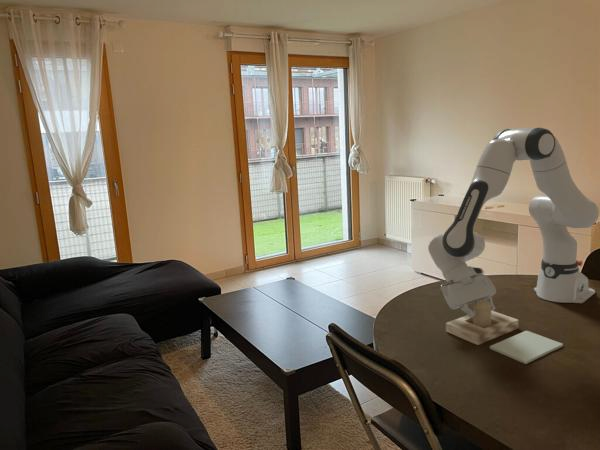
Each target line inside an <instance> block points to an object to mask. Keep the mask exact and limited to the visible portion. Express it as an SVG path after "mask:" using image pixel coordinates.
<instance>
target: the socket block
mask: <svg viewBox="0 0 600 450" xmlns="http://www.w3.org/2000/svg"><path fill="white" fill-rule="evenodd" d="M519 321H520V320H519V319H517V318H514V317H512V316H508V315H506V314H503V313H500V312H497V311H495V310H492V311H491V326H489V327H487V328H481V327H479V326H476V325H474V324H473V318H470V317H469V315H468V314H467V315H464V316H461V317H458V318H456V319H453V320H450V321H447V322H445V332H447V333H449V334H451V335H454V336H456V337H458V338H460V339H463V340H465V341H467V342H470V344H471V343H472V344H473V345H474V344H475V345H477V346H479V345H482V344H484V343H486V342H488V341H491V340H493V339H496V338H498V337H500V336H501V337H502V336H503V335H505V334H508V333H510V332H513V331H516V330H517V329H519Z"/></svg>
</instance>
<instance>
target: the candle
mask: <svg viewBox="0 0 600 450" xmlns="http://www.w3.org/2000/svg"><path fill="white" fill-rule="evenodd" d="M473 310H474V312H475V313H476V316H475V317H473V324H474V325H476V326H479V327H481V328H487V327H489V326H491V305H490V304H489V303H487V302H486V301H485V300H484V299H483V300H479V301H477V302H474V303H473ZM473 310H472V311H473Z"/></svg>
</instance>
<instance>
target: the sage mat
mask: <svg viewBox="0 0 600 450" xmlns="http://www.w3.org/2000/svg"><path fill="white" fill-rule="evenodd" d="M563 346H564V343H562V342H559V341H557V340H554V339H550V338H549V337H546V336H543V335H540V334H538V333H534V332H532V331H529V330H524V331H522V332H520V333H517V334H515V335H513V336H510V337H508V338H506V339H503V340H501V341H498V342H496V343H494V344H492V345H490V346H489V350H492V351H494V352H497V353H499V354H501V355H504V356H505V357H506V356H507V357H508V358H511V359H513V360H515V361H517V362H520V363H522V364H525V365H526V364H529V363H531V362H533V361H536V360H537V359H539V358H541V357H543V356H546V355H548V354H549V353H551V352H554V351H557V350H558V349H560V348H562V347H563Z"/></svg>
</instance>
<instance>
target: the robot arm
mask: <svg viewBox="0 0 600 450" xmlns="http://www.w3.org/2000/svg"><path fill="white" fill-rule="evenodd" d="M486 144H487V145H485V147H484V150H482V153H481V155H480V156H479V160H478V162H477V165H476V168H475V171H474V172H473V177H472V179H471V183H470V184H469V187H468V189H467V190H466V193H465V196H464V198H463V200H462V202H461V205H460V207H459V209H458V212H457V214H456V216H455V219H454V221H453V222H452V223H451V224H450V226H448V228H447V229H446V230H445V232H444V233H443V234H439V235H437V236H434V238H432V239H431V241H430V242H429V244H428V247H427V249H428V253H429V255H430V257H431V259H432V261H433V262H434V264H435V266H436V267H437V268H438V269H439V270H440V271H441V274H442V276H443V278H444V280H445V281H446V282H442V283H441V285H440V291H441V292H442V294H443V297H444V299H445V302H446V303H447V305H448V307H449V308H450V309H451V310H453V311H454V310H457V309H460V310H461V311H462V312H463V313H465V314H467V315H469V317H470V318H473V317H475V316H476V313H475V312H474V310H472V309H471V308H470V307H469V305H471V304H475V303H476V302H478V301H479V300H484V301H486V302H487V303H489V304H490V305H491V311H495V310H496V306H495V304H494V300H493V297H492V296H494V295H495V294H496V293H497V288H496V287H495V285H494V284H493V282H492V281H491V280H490V278H489V277H488V276H487V275H486V274H484V273H485V271H484V269H483V268H482V267H475V266H469V265H468V264H467V261H470V260H473V259H475V258H477V257H478V256H480V255H481V254H482V253H483V252H484V250H485V247H486V243H485V239H484V238H483V236H482V235H481V233H478V232H477V231H474V230H475V226H476V223H477V222H478V218H479V216H480V213H481V210H482V209H483V206H484V205H485V204H486V203H487V202H488V201H490V200H492V199H493V198H495V197H498V196H500V195H501V194H502V193H503V191H504V190H505V188H506V186H507V185H508V182H509V180H510V176H511V173H512V170H513V166H514V163H515V162H516V161H526V160H527V161H528V160H529V163H530V167H531V170H532V173H533V175H532V176H533V178H534V180H535V184H536V187H537V188H538V190H539V191H540V192H542V193H543V194H538V195H535V196H534V197H533V198H532V199H531V200H530V202H529V204H528V212H529V215H530V216H531V217H532V218H533V220H534V221H535V222H536V224H537V226H538V228H539V230H540V233H541V236H542V245H543V246H542V247H543V249H542V250H543V251H542V252H543V253H542V259H541V263H540V265H541V266H540V267H541V268H540V269H541V270H540V271H538V276H537V282H536V287H535V286H534V288H533V291H534V292H536V295H537V297H538V298H540V299H543V300H546V301H548V302H554V303H563V304H564V303H565V304H567V303H570V304H571V303H574V304H583V303H585V302H586V301H587V300H588V299H590V297H592V296H593V295H595V293H596V290H595V289H594V288H591V287H589V278H588V277H587V276H586V275H585V274H583V273H582V272H580V268H579V267H581V266H583V260H578V259H577V253H578V242H577V240H576V239H575V237H574V236H572V235H571V233H570V232H569V230H568V228H572V229H588V228H591V227H593V226H594V225H595V224H596V222H597V221H598V219H599V215H600V214H599V213H600V212H599V207H598V205H597V204H596V203H595V202H594V201H592V200H591V199H589V198H588V197H587V196H585V194H583V192H581V189H579V187H578V186H577V185H576V184H575V182H574V180H573V178H572V176H571V173H570V170H569V166H568V164H567V163H568V162H567V159H566V156H565V153H564V151H563V148H562V146H561V144H560V142H559V141H558V139H557V137H556V136H554V133H553V132H552V131H550V130H549V129H547V128H543V127H518V128H506V129H503V130H499V132H497V133H496V134H495V135H494V137H493V139H492V140H490V141H489V142H488V143H486Z"/></svg>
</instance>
